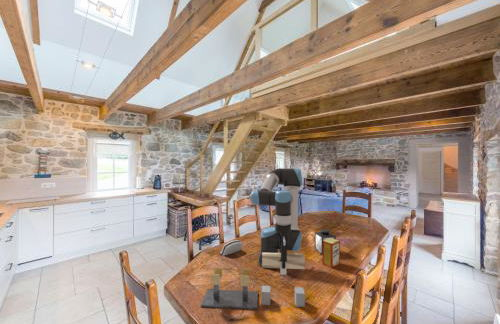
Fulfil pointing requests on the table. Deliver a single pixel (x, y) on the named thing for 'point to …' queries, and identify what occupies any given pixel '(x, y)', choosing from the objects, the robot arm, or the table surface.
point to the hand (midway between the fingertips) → (282, 271)
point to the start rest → (298, 296)
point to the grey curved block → (231, 247)
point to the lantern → (322, 238)
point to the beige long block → (273, 259)
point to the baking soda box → (331, 252)
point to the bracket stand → (230, 293)
